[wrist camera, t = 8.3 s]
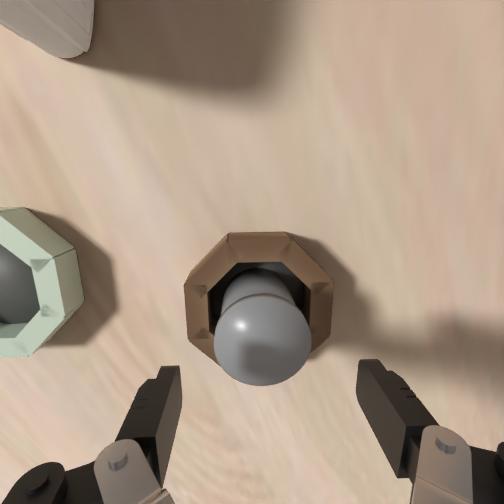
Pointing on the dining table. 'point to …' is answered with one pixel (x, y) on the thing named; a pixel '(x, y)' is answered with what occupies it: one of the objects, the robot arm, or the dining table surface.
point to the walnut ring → (256, 256)
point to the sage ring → (34, 282)
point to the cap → (260, 330)
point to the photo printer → (51, 24)
